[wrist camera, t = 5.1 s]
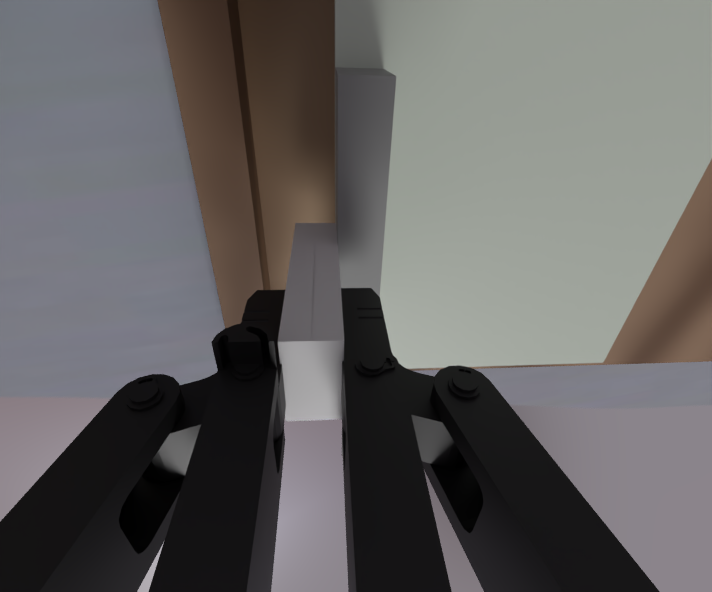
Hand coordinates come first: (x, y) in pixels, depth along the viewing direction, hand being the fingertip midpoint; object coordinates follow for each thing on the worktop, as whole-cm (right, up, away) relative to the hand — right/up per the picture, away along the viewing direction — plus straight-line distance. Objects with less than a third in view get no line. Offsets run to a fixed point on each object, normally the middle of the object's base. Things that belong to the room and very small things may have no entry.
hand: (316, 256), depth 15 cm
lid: (+8, +3, +1) cm, 8 cm away
